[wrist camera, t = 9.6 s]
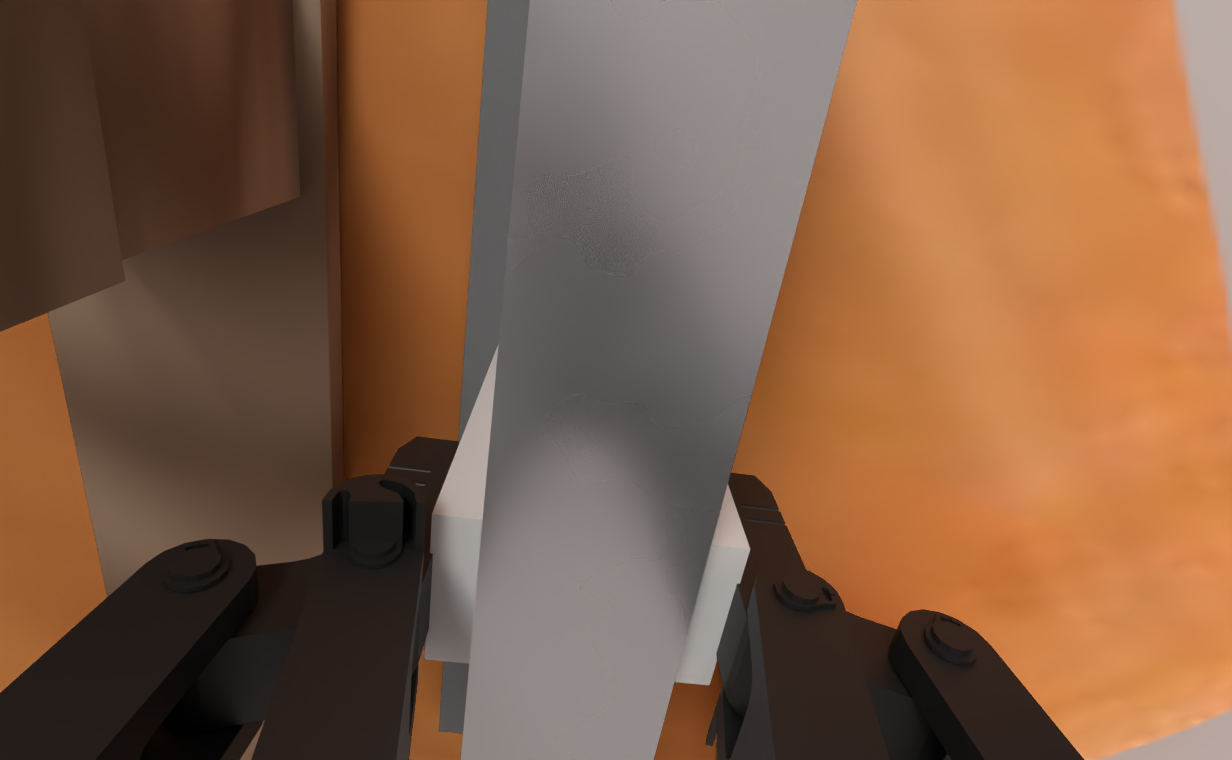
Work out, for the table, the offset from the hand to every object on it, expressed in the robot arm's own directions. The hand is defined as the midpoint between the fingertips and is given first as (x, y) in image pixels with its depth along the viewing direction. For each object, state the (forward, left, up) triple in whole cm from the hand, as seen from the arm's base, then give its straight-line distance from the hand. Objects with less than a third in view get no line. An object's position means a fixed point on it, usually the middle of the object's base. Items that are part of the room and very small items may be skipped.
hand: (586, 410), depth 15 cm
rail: (0, 0, +2) cm, 2 cm away
